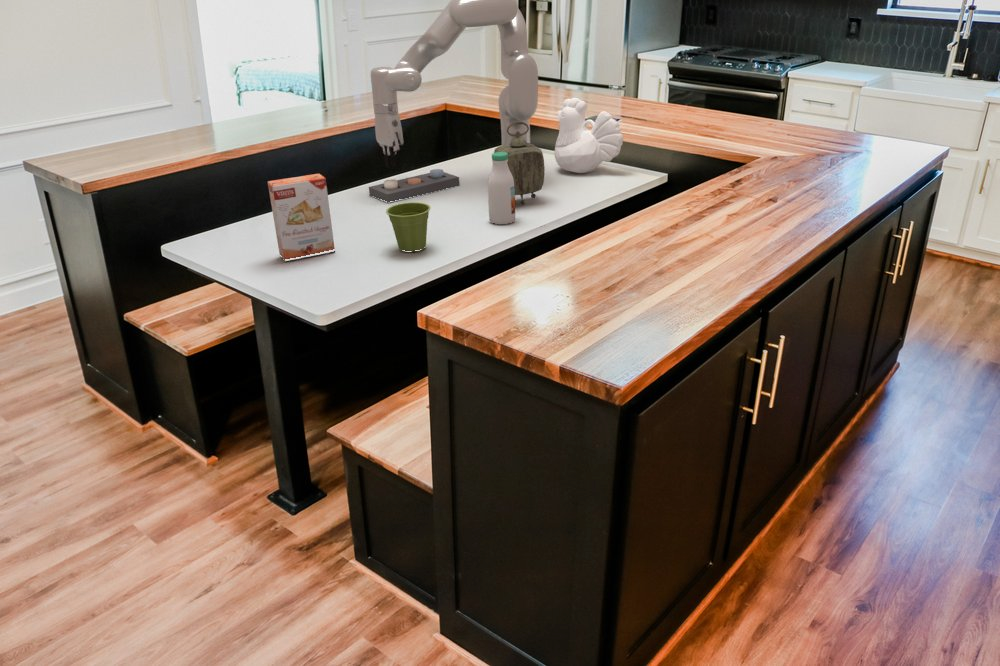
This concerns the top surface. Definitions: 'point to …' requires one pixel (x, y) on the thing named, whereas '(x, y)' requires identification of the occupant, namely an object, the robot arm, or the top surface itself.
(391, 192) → the button panel
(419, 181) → the terracotta button
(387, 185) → the cream button
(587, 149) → the decorative rooster
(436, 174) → the slate blue button
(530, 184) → the tabletop clock
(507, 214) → the milk bottle
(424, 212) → the plant pot
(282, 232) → the cracker box
